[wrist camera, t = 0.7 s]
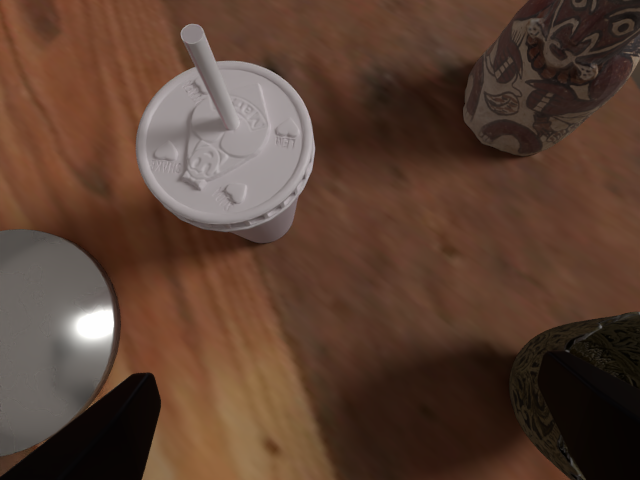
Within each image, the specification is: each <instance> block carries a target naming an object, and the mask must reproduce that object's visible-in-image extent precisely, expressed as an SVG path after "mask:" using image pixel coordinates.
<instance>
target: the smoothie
mask: <svg viewBox="0 0 640 480" xmlns="http://www.w3.org/2000/svg"><path fill="white" fill-rule="evenodd" d="M181 38H182V40H183V42H184V44H185V46H186V48H187V50H188V52H189V54H190V56H191V58H192V60H193V63H194V65H195V67H194V68H191V69H189V70H187V71H185V72H183V73H181V74H179V75H178V76H176V77H175V78H173V79H172V80H170V81H169V82H168V83H167V84H166V85H164V86H163V87H162V88H161V89H160V90H159V91H158V92H157V93H156V95H155V96H154V97H153V98H152V100H151V101H150V103H149V104H148V106H147V108H146V109H145V111H144V113H143V116H142V118H141V120H140V124H139V127H138V131H137V137H136V156H137V162H138V166H139V170H140V172H141V175H142V177H143V179H144V181H145V183H146V185H147V186H148V188H149V190H150V191H151V192H152V193H153V195H154V196H155V197H156V198H157V199H158V200H159V201H160V202H161V203H162V204H163V206H164V207H165V208H167V209H168V210H169V211H170V212H172V213H173V214H174V215H175V216H177V217H178V218H179V219H180V220H182V221H184V222H187V223H189V224H192V225H194V226H196V227H199V228H201V229H206V230H214V231H221V232H231V233H234V234H236V235H238V236H241V237H243V238H245V239H248V240H250V241H253V242H257V243H269V242H273V241H275V240H277V239H279V238H281V237H282V236H283V235H284V234H285V233H286V232H287V231H288V230H289V228H290V227H291V225H292V222H293V218H294V214H295V209H296V204H297V200H298V196H299V194H300V193H301V192H302V191H303V189H304V187H305V185H306V183H307V180H308V178H309V176H310V174H311V171H312V167H313V160H314V154H315V144H314V137H313V130H312V124H311V120H310V116H309V113H308V110H307V108H306V106H305V104H304V102H303V101H302V99H301V97H300V96H299V95H298V93H297V92H296V91H295V89H294V88H293V87H292V86H291V85H290V84H289V83H288V82H286V81H285V80H284V79H283V78H281V77H280V76H279V75H277V74H275V73H274V72H272V71H270V70H268V69H266V68H263V67H260V66H258V65H254V64H251V63H246V62H239V61H219V62H216V61H215V59H214V56H213V54H212V51H211V49H210V46H209V44H208V41H207V39H206V36H205V34H204V31H203V29H202V28H201V27H200V26H199V25H197V24H189V25H187V26H185V27H184V28H183V29H182V31H181Z"/></svg>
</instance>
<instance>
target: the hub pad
mask: <svg viewBox="0 0 640 480" xmlns="http://www.w3.org/2000/svg"><path fill="white" fill-rule="evenodd" d="M120 328H121V321H120V309H119V304H118V299H117V295H116V292H115V290H114V287H113V284H112V282H111V280H110V278H109V276H108V275H107V273H106V271H105V270H104V269H103V267H102V266H101V265H100V263H99V262H98V261H97V260H96V259H95V258H94V257H93V256H92V255H91V254H90V253H88V252H87V251H86V250H84V249H83V248H82V247H80V246H78V245H77V244H75V243H73V242H71V241H69V240H66V239H64V238H61V237H58V236H55V235H52V234H49V233H45V232H40V231H36V230H24V229H19V230H5V231H0V456H4V455H10V454H13V453H16V452H19V451H22V450H25V449H27V448H29V447H32V446H34V445H36V444H38V443H40V442H42V441H45V440H47V439H49V438H51V437H52V436H53V435H55V434H56V433H57V432H59V431H60V430H61V429H62V428H64V427H65V426H66V425H68V424H69V423H70V422H71V421H73V420H74V419H75V418H77V417H78V416H79V415H80V414H82V413H83V412H84V411H85V410H86V409H87V408H88V407H89V406H90V404H91V403H92V402H93V400H94V399H95V398H96V397H97V395H98V394H99V392H100V390H101V389H102V387H103V385H104V384H105V382H106V380H107V378H108V376H109V374H110V371H111V369H112V367H113V364H114V361H115V358H116V355H117V351H118V345H119V340H120Z"/></svg>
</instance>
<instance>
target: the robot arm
mask: <svg viewBox="0 0 640 480" xmlns="http://www.w3.org/2000/svg"><path fill="white" fill-rule="evenodd" d="M537 384H538V388H539V390H540V392H541V394H542V396H543V398H544V401H545V403H546V405H547V407H548V409H549V411H550V413H551V415H552V417H553V419H554V421H555V423H556V425H557V428H558V430H559V432H560V434H561V436H562V438H563V440H564V442H565V444H566V446H567V448H568V450H569V452H570V454H571V455H572V457H573V459H574V461H575V462H576V464H577V466H578V468H579V469H580V471H581V473H582V474H583V476H584V478H585V479H586V480H640V389H638V388H636V387H634V386H632V385H630V384H628V383H626V382H624V381H623V380H621V379H619V378H617V377H615V376H613V375H611V374H609V373H607V372H605V371H603V370H601V369H600V368H598V367H596V366H594V365H592V364H590V363H588V362H586V361H584V360H582V359H580V358H578V357H576V356H575V355H573V354H571V353H569V352H567V351H564V350H556V351H547V352H545V353H544V354H543V357H542V361H541V365H540V369H539V373H538V377H537ZM160 409H161V399H160V395H159V391H158V388H157V384H156V380H155V377H154V375H153V374H152V373H135V374H132V375H131V376H129V377H128V378H127V379H125V380H124V381H123V382H122V383H120V384H119V385H118V386H116V387H115V388H114V389H113V390H111V391H110V392H109V393H107V394H106V395H105V396H104V397H102V398H101V399H100V400H98V401H97V402H96V403H95V404H93V405H92V406H91V407H89V408H88V409H87V410H86V411H84V412H83V413H82V414H80V415H79V416H78V417H77V418H75V419H74V420H73V421H71V422H70V423H69V424H68V425H66V426H65V427H64V428H62V429H61V430H60V431H59V432H57V433H56V434H55V435H53V436H52V437H51V438H50V439H48V440H47V441H46V442H45V443H43V444H42V445H41V446H39V447H38V448H37V449H36V450H34V451H33V452H32V453H30V454H29V455H28V456H27V457H25V458H24V459H23V460H21V461H20V462H19V463H18V464H16V465H15V466H14V467H12V468H11V469H10V470H9V471H7V472H6V473H5V474H3V475H2V476H1V477H0V480H142V477H143V474H144V470H145V467H146V463H147V459H148V455H149V451H150V447H151V444H152V440H153V436H154V432H155V428H156V425H157V421H158V417H159V413H160Z"/></svg>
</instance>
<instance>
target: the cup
mask: <svg viewBox="0 0 640 480" xmlns="http://www.w3.org/2000/svg"><path fill="white" fill-rule="evenodd" d="M556 350H564V351H567V352H569V353H571V354H573V355H575V356H576V357H578V358H580V359H582V360H584V361H586V362H588V363H590V364H592V365H594V366H596V367H598V368H600V369H601V370H603V371H605V372H607V373H609V374H611V375H613V376H615V377H617V378H619V379H621V380H623V381H624V382H626V383H628V384H630V385H632V386H634V387H636V388H638V389H640V312H630V313H625V314H622V315H618V316H612V317H605V318H598V319H592V320H586V321H580V322H574V323H570V324H565V325H562V326H558V327H555V328H552V329H549V330H547V331H545V332H543V333H541V334H539V335H537V336H535V337H534V338H533V339H531V340H530V341H529V342H528V343H527V344H526V345H525V346H524V347H523V348H522V350H521V351H520V352H519V354H518V355H517V357H516V359H515V361H514V363H513V366H512V369H511V373H510V380H509V392H510V399H511V403H512V407H513V410H514V413H515V416H516V418H517V420H518V422H519V424H520V426H521V428H522V429H523V431H524V432H525V433H526V435H527V436H528V438H529V439H530V440H531V442H532V443H533V444H534V445H535V446H536V447H537V449H538V450H539V451H540V452H541V453H542V454H543V455H544V456H545V457H546V458H547V459H548V460H550V461H551V462H552V463H553V464H554V465H555V466H556V467H557V468H558V469H559V470H560V471H562V472H563V473H564V474H565V475H566V476H567V477H569V478H570V479H571V480H586V479H585V478H584V476H583V474H582V473H581V471H580V469H579V468H578V466H577V464H576V462H575V461H574V459H573V457H572V455H571V454H570V452H569V450H568V448H567V446H566V444H565V442H564V440H563V438H562V436H561V434H560V432H559V430H558V428H557V425H556V423H555V421H554V419H553V417H552V415H551V413H550V411H549V409H548V407H547V405H546V403H545V401H544V398H543V396H542V394H541V392H540V390H539V388H538V384H537V377H538V373H539V369H540V365H541V361H542V357H543V354H544V353H545V352H547V351H556Z"/></svg>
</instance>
